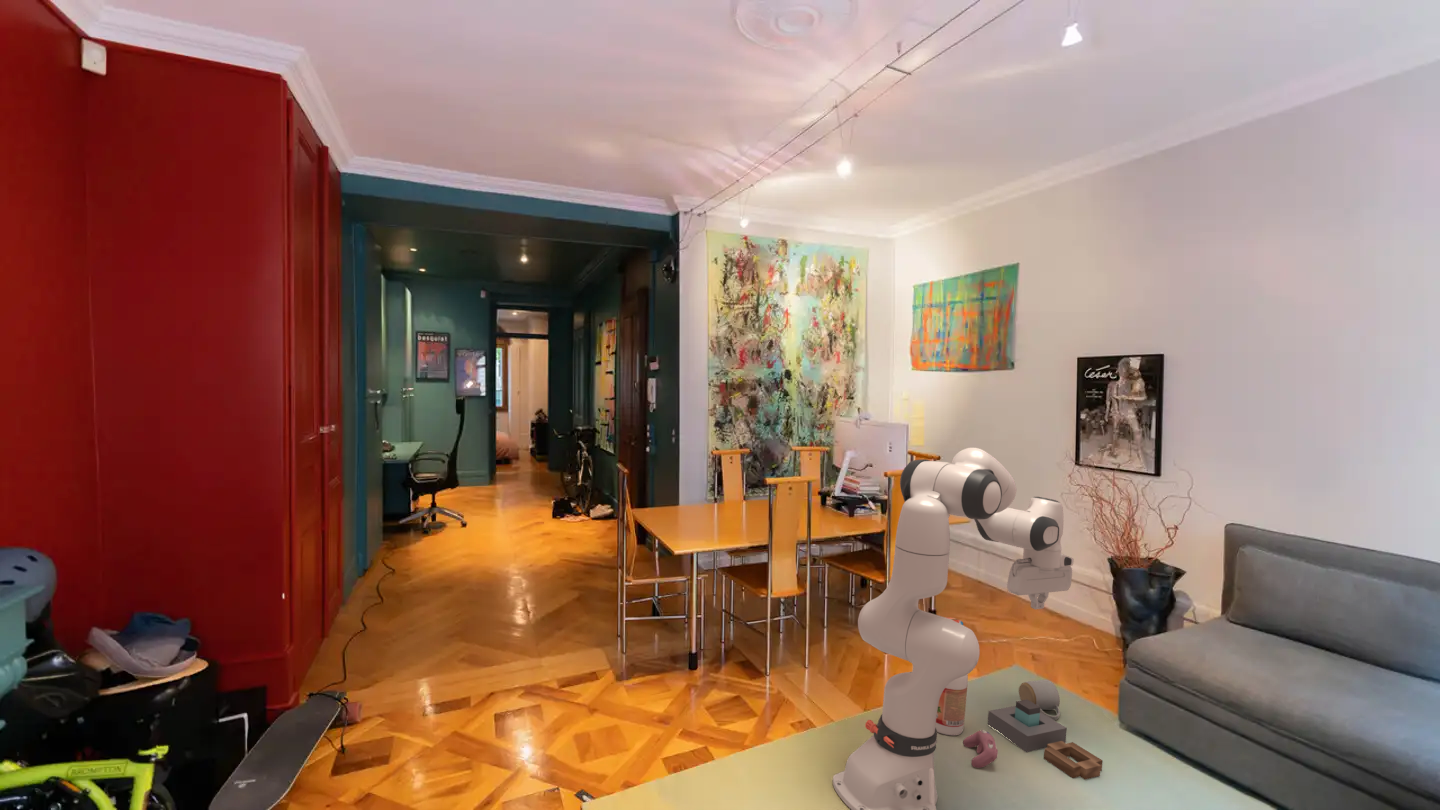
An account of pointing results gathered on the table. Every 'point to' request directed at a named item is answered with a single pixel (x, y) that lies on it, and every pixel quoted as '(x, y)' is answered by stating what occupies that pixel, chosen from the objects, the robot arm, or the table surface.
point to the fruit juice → (952, 705)
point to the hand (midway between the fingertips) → (1037, 608)
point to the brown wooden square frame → (1086, 761)
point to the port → (1026, 729)
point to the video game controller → (982, 748)
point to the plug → (1027, 713)
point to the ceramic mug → (1041, 695)
